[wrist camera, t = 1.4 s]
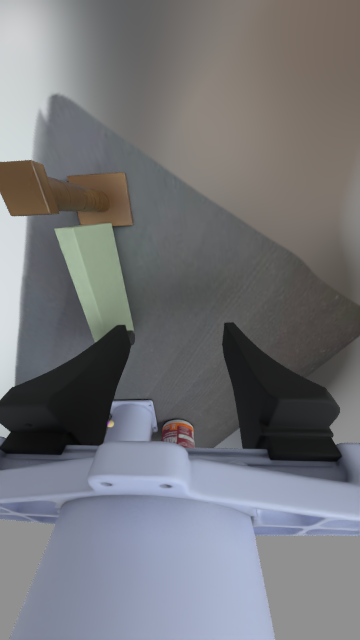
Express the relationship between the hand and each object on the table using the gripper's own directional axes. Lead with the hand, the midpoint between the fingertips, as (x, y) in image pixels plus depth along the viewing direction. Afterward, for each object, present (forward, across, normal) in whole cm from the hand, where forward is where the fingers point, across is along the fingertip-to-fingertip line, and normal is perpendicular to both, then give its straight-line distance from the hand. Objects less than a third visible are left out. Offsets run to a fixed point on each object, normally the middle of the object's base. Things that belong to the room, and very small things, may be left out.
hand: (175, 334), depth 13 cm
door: (+8, +6, 0) cm, 10 cm away
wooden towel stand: (+10, +7, -8) cm, 14 cm away
